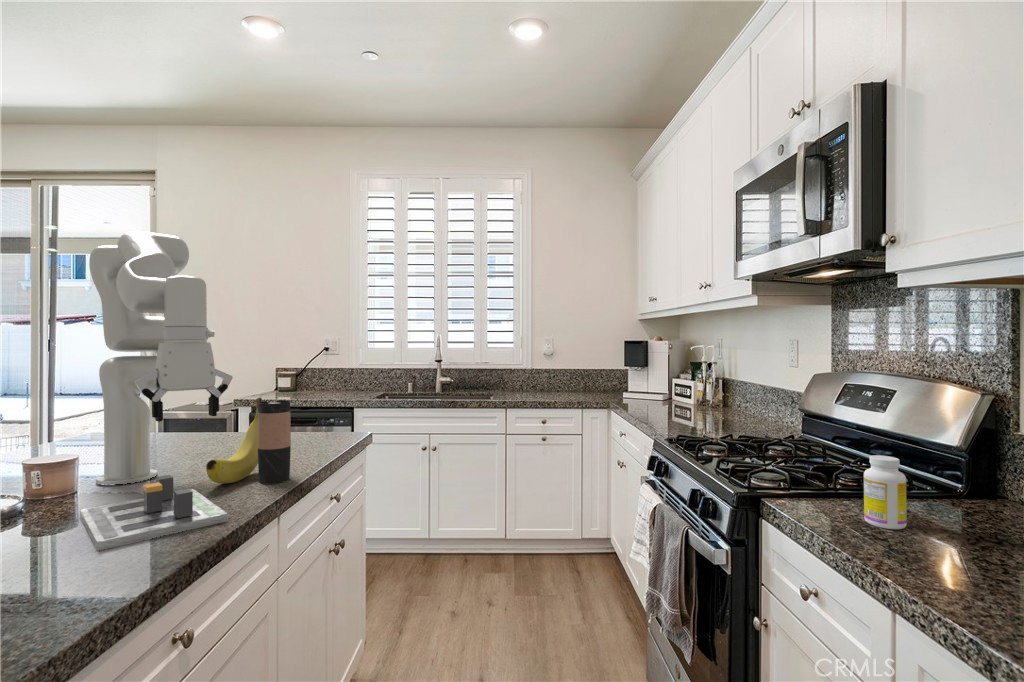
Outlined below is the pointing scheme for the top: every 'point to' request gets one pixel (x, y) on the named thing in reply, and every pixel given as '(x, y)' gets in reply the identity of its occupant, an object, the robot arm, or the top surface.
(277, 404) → the travel mug
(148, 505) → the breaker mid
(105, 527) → the panel
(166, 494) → the block
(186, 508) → the breaker near
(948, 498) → the top surface
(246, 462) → the banana
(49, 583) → the top surface
